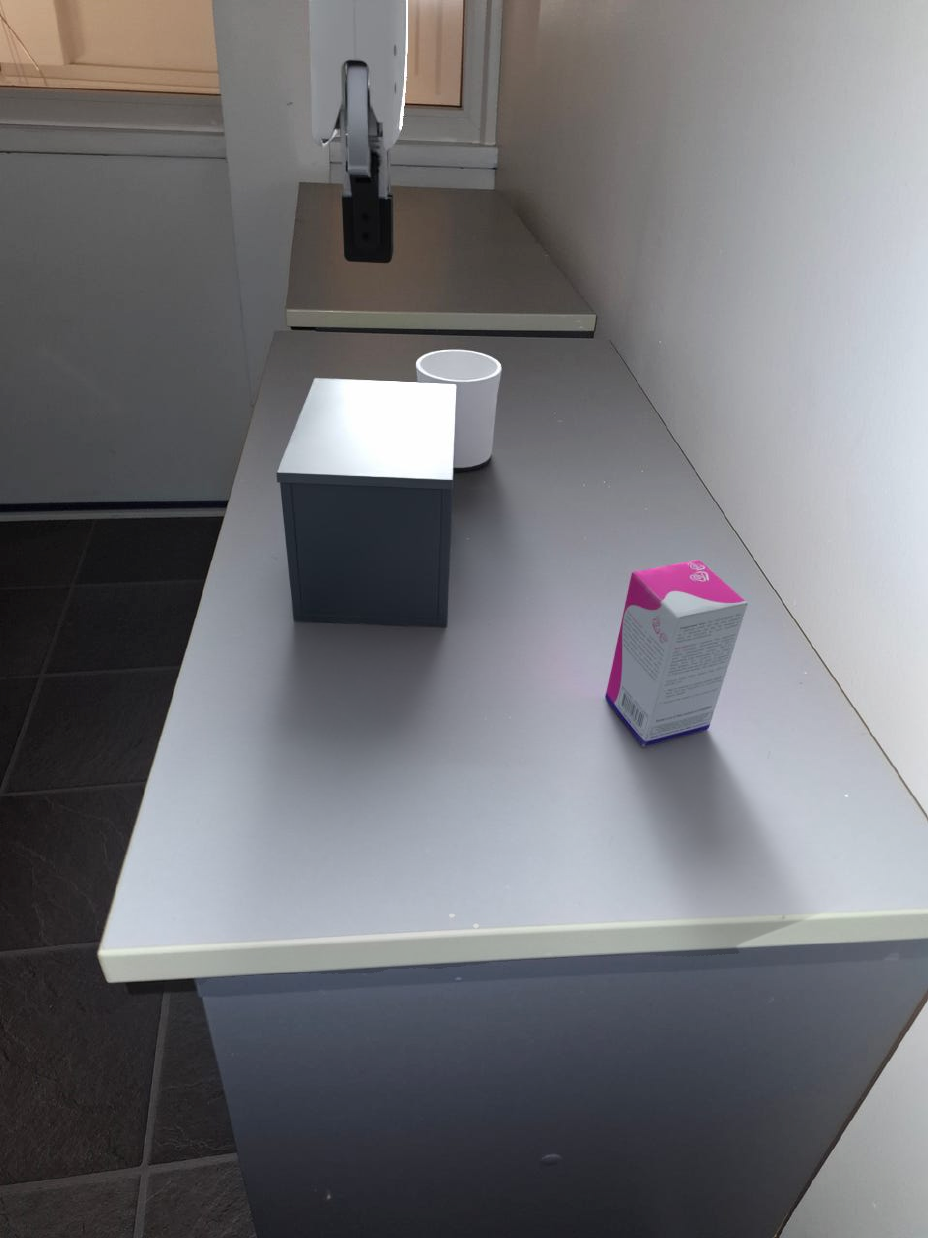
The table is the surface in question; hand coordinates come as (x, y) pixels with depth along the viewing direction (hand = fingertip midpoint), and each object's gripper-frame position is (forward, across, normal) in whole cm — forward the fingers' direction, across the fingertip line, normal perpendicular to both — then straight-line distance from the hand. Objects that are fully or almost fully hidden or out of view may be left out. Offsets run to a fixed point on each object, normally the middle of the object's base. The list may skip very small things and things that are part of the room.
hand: (369, 258), depth 58 cm
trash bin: (+27, -3, 0) cm, 27 cm away
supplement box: (+27, +15, +22) cm, 38 cm away
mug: (+27, -26, +6) cm, 38 cm away
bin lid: (+14, -3, 0) cm, 14 cm away
